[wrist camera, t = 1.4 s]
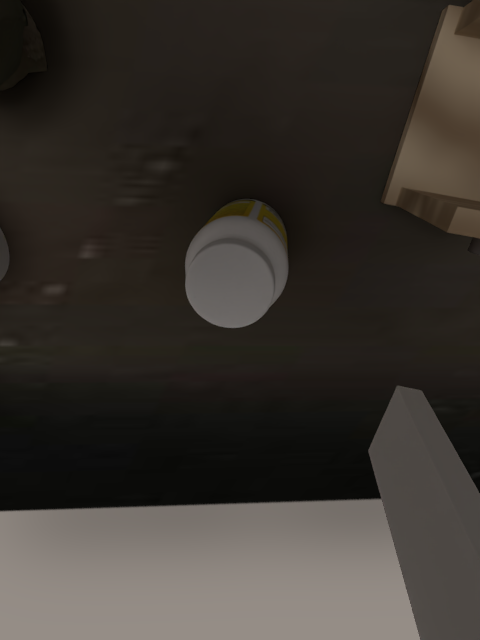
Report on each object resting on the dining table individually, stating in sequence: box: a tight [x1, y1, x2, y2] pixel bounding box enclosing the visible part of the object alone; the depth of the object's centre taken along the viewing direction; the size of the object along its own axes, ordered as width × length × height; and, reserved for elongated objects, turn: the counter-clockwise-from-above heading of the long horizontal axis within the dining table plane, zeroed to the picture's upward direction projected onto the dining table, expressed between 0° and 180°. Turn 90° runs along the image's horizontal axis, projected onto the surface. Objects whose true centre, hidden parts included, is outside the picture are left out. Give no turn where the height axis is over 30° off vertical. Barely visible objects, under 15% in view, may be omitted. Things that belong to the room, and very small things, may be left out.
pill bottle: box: [185, 199, 288, 328], centre depth 24 cm, size 6×6×11 cm
